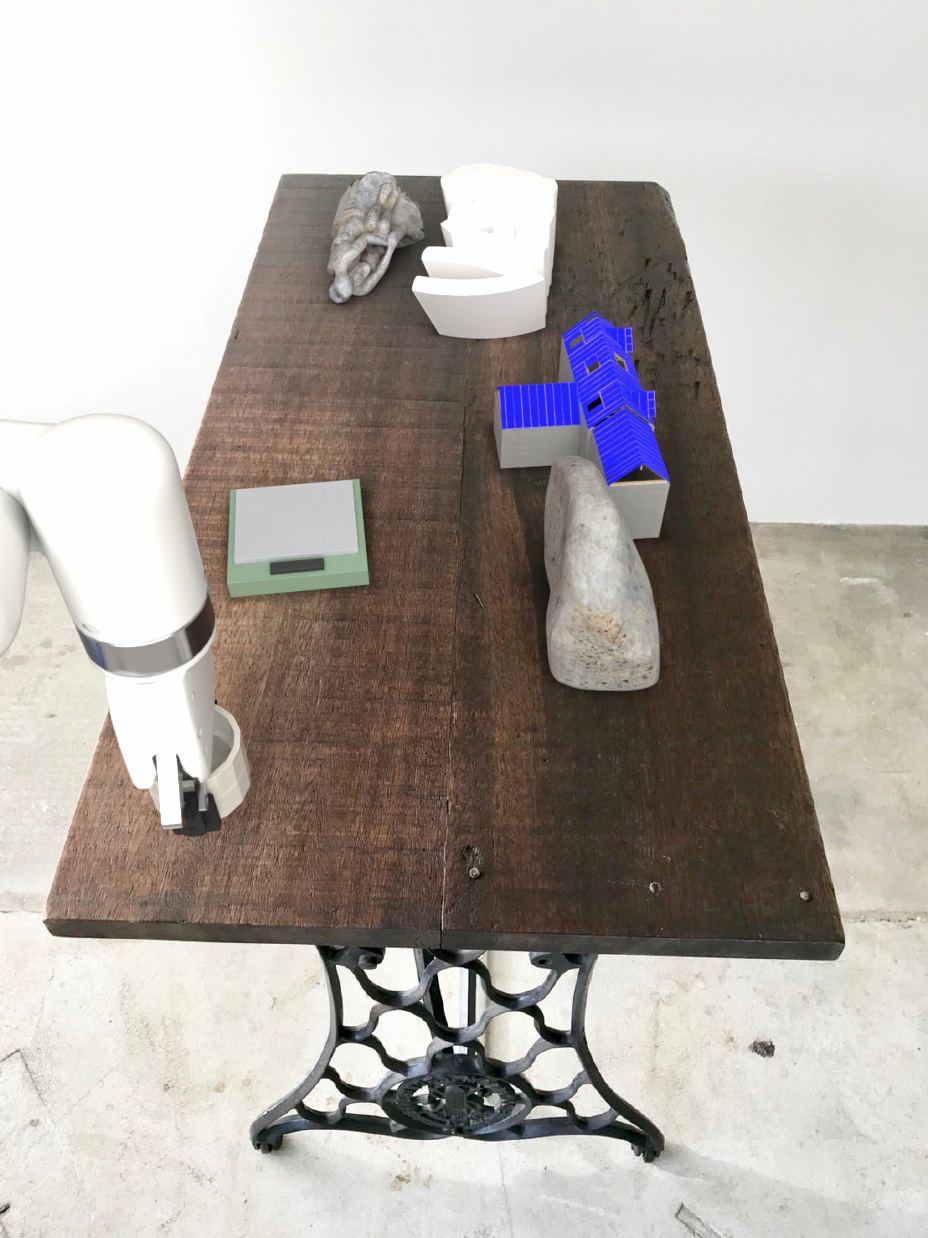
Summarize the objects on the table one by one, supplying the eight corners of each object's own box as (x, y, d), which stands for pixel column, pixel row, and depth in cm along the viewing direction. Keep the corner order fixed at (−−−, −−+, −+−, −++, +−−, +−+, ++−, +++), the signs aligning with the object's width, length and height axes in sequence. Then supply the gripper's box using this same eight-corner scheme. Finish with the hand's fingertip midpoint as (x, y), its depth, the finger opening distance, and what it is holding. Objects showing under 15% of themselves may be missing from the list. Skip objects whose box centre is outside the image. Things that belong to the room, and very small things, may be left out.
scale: (230, 597, 91) (225, 578, 89) (233, 504, 99) (229, 485, 97) (369, 584, 92) (367, 565, 90) (360, 493, 100) (358, 474, 98)
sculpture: (379, 347, 126) (294, 310, 124) (416, 258, 135) (337, 222, 133) (401, 287, 117) (309, 246, 115) (439, 195, 126) (354, 155, 124)
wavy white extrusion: (535, 368, 114) (541, 287, 107) (400, 353, 116) (395, 272, 108) (568, 226, 137) (575, 150, 129) (454, 215, 139) (454, 140, 131)
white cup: (149, 834, 67) (130, 791, 63) (156, 750, 71) (139, 705, 67) (250, 823, 68) (239, 781, 63) (251, 741, 72) (241, 696, 68)
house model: (664, 536, 96) (681, 458, 88) (514, 546, 95) (518, 467, 88) (616, 386, 112) (627, 309, 105) (487, 393, 111) (489, 316, 104)
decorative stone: (661, 710, 82) (544, 714, 82) (625, 544, 95) (524, 548, 95) (697, 577, 70) (559, 582, 69) (650, 407, 82) (533, 410, 82)
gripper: (96, 518, 61) (156, 689, 74) (57, 749, 49) (136, 901, 63) (218, 509, 62) (255, 680, 75) (207, 735, 50) (253, 888, 64)
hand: (200, 780), depth 69 cm, fingers closed on white cup, 7 cm apart
